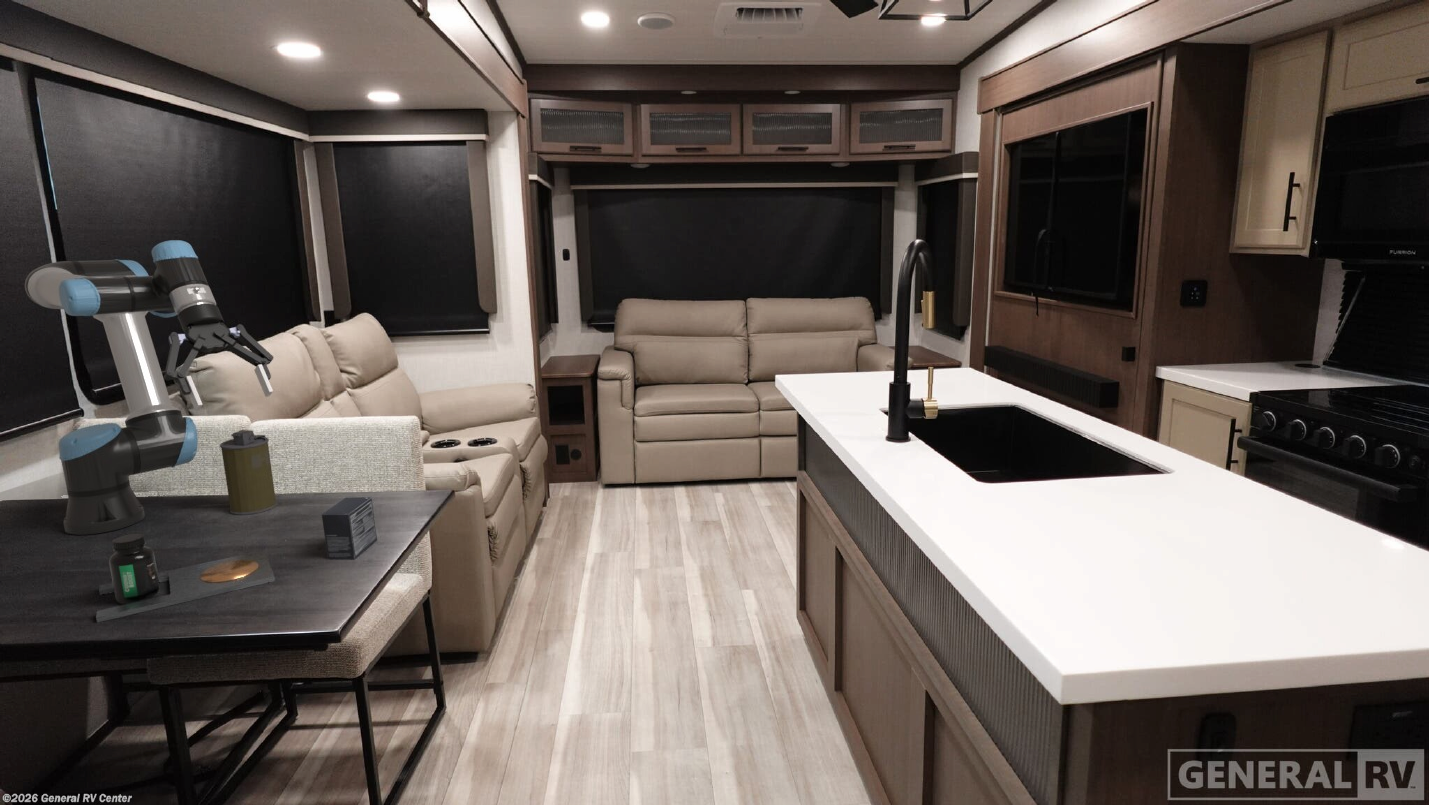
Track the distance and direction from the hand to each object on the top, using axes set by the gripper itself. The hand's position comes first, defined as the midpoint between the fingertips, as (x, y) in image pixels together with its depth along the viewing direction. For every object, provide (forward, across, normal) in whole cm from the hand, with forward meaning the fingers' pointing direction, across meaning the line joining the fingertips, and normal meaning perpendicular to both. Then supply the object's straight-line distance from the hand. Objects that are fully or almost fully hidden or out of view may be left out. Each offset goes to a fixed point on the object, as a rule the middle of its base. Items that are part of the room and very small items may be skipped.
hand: (235, 400), depth 159 cm
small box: (+38, +12, +4) cm, 40 cm away
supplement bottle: (+30, -24, +14) cm, 41 cm away
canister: (+14, +11, +44) cm, 47 cm away
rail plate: (+32, -16, +12) cm, 38 cm away
